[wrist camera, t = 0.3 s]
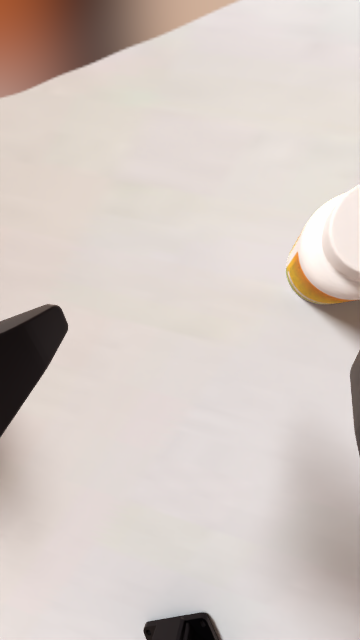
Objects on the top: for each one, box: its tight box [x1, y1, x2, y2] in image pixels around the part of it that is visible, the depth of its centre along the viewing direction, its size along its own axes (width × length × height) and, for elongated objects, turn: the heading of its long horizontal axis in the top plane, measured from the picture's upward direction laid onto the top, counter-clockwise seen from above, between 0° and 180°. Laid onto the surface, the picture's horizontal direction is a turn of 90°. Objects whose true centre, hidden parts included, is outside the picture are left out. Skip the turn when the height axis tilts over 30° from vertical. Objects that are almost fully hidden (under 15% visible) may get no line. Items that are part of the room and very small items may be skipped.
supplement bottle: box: [286, 184, 360, 304], centre depth 15 cm, size 5×5×10 cm
